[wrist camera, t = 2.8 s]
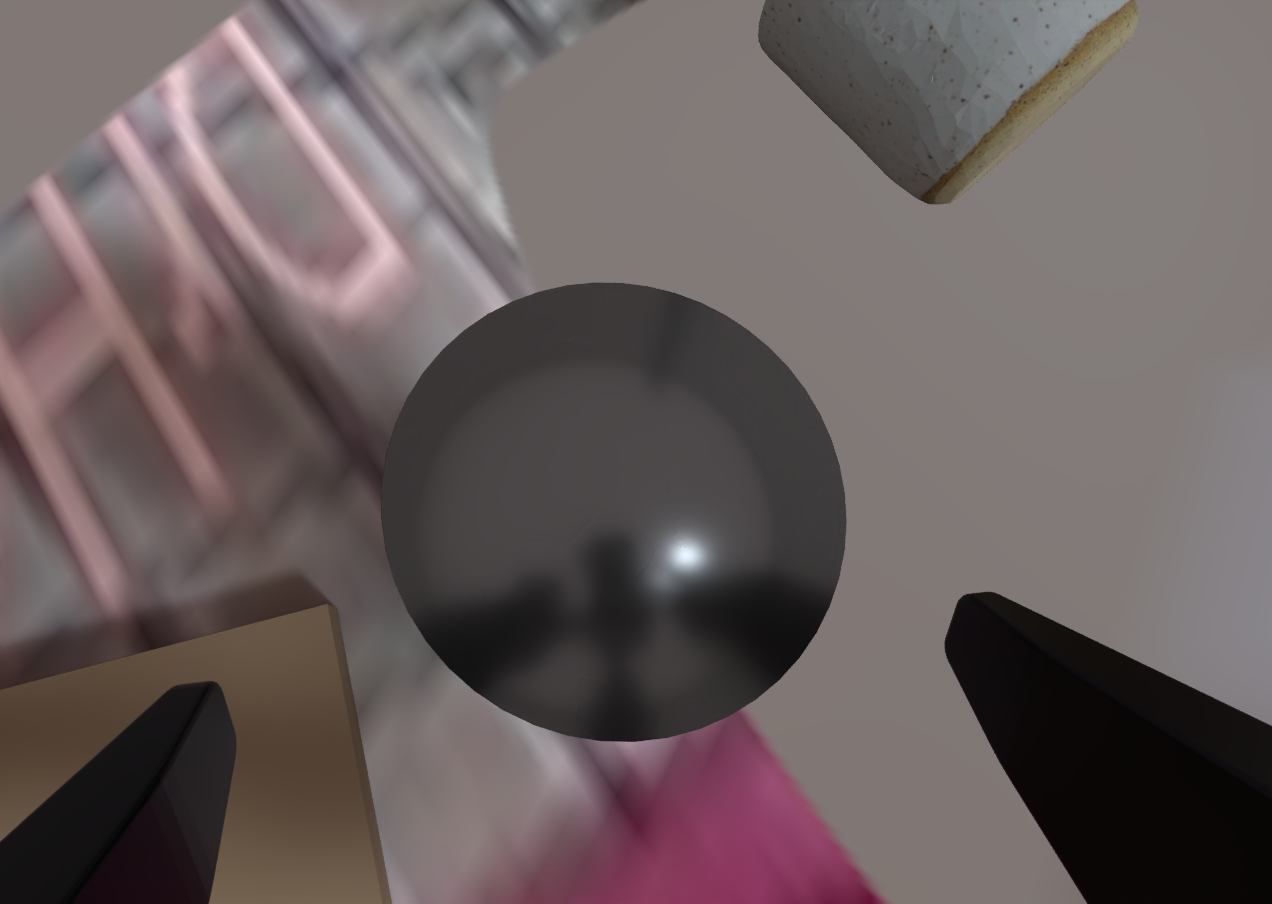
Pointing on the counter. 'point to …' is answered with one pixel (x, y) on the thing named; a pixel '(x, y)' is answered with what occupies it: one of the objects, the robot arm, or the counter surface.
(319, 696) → the tan wooden panel
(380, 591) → the counter surface
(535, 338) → the metal tin
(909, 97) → the ceramic mug
